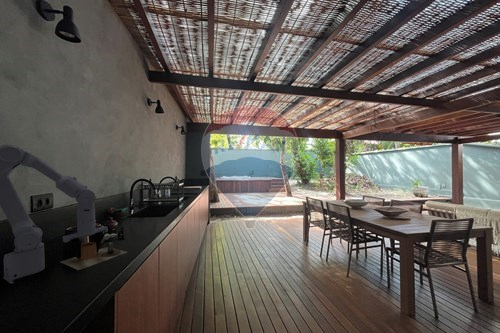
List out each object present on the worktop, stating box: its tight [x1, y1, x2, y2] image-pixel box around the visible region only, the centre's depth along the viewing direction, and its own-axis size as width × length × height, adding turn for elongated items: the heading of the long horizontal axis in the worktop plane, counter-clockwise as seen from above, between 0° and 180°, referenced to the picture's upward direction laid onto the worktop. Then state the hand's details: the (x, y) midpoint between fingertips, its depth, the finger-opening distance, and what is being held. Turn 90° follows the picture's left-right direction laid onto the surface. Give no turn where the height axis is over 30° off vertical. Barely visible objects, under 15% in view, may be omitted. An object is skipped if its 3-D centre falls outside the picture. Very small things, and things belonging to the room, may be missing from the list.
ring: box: [78, 241, 97, 260], centre depth 85 cm, size 6×6×5 cm
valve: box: [101, 226, 125, 244], centre depth 104 cm, size 7×7×12 cm
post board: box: [60, 241, 128, 271], centre depth 85 cm, size 17×15×6 cm
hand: (87, 254), depth 85 cm, fingers closed on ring, 5 cm apart
